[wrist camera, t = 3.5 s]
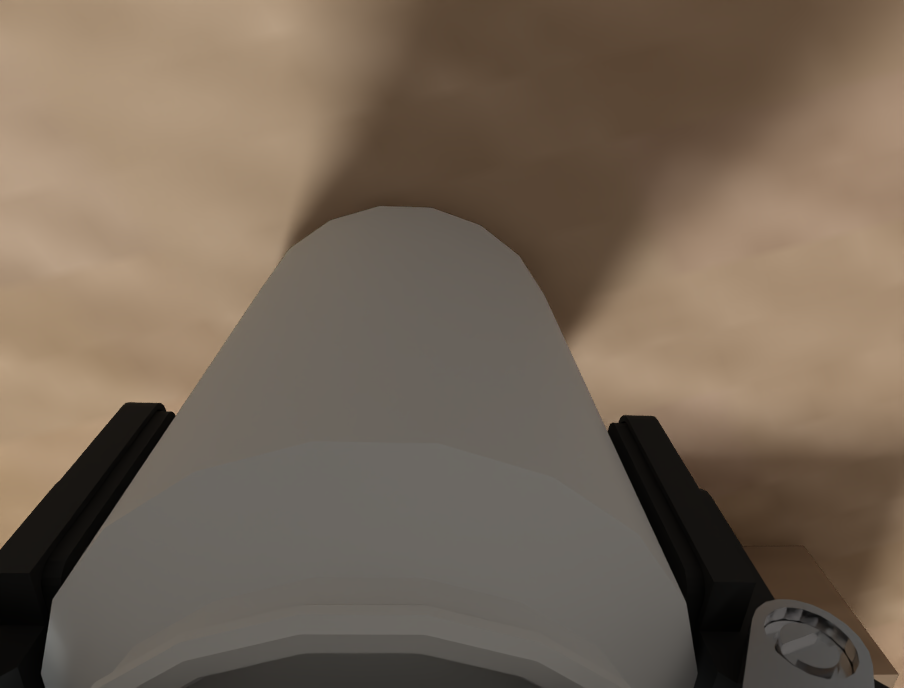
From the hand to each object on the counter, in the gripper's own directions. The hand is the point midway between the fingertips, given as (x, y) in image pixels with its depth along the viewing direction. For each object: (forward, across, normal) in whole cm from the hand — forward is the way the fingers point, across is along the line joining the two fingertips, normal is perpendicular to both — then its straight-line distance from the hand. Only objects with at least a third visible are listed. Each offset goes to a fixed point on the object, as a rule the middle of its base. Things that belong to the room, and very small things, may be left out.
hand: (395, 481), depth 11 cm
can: (+6, 0, 0) cm, 6 cm away
